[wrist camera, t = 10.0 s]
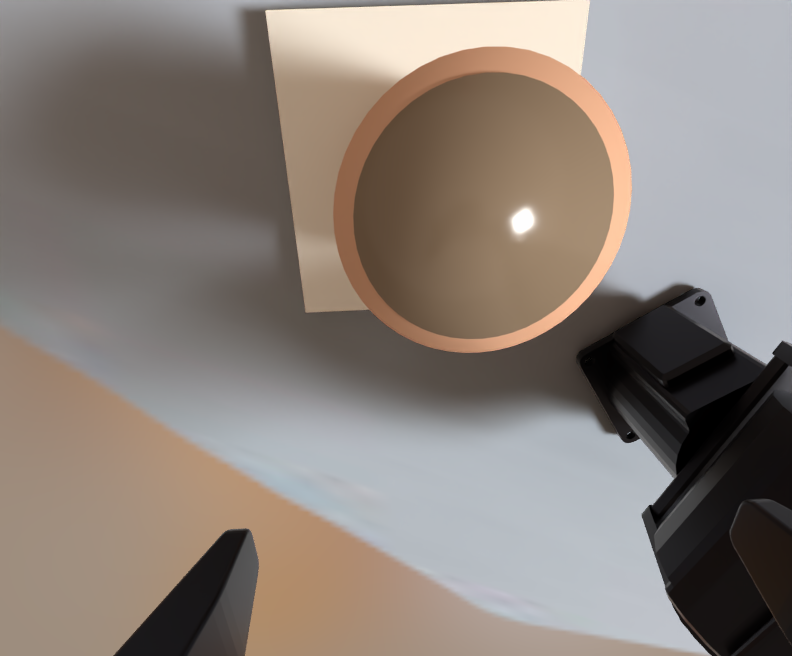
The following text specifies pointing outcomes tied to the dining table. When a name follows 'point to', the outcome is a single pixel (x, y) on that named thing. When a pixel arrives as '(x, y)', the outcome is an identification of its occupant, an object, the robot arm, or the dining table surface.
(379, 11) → the tile
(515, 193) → the pot
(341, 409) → the dining table surface
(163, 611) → the robot arm
